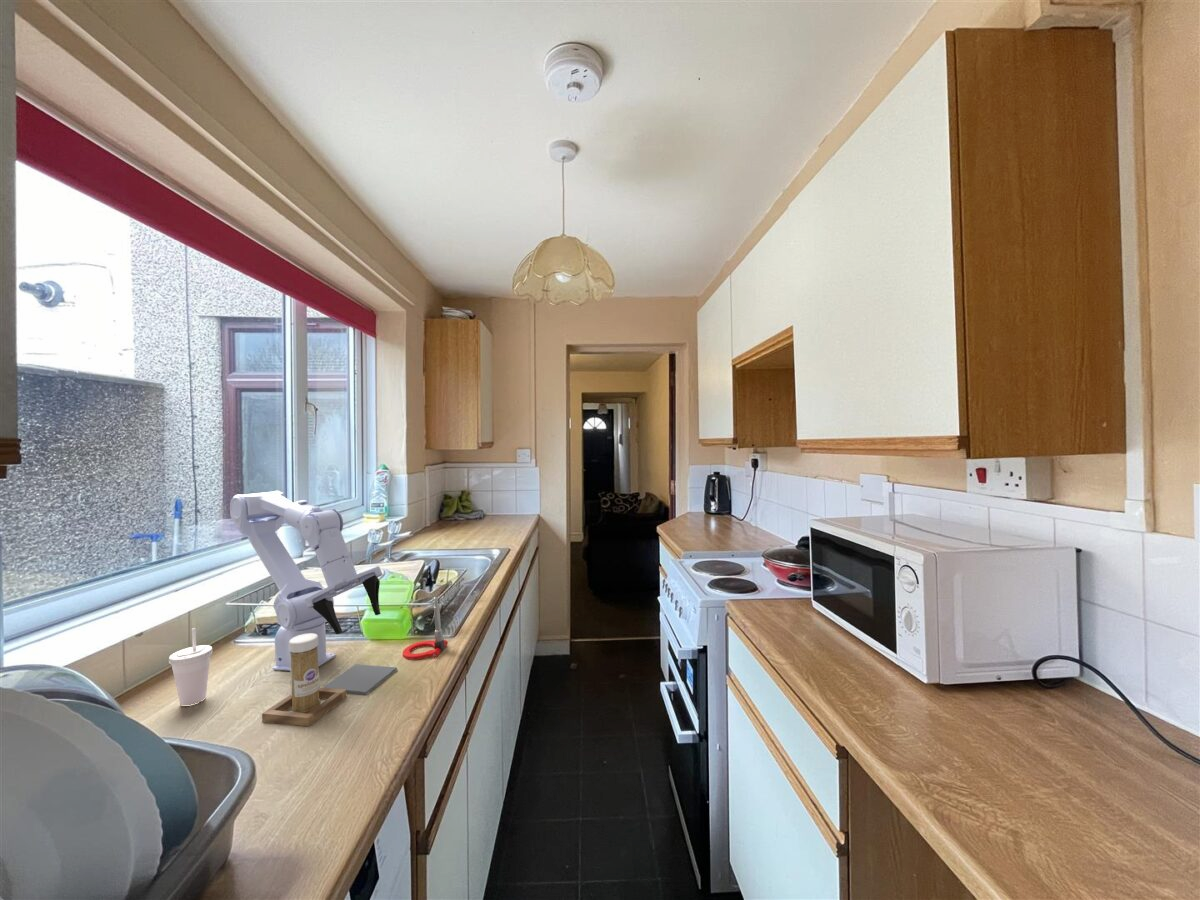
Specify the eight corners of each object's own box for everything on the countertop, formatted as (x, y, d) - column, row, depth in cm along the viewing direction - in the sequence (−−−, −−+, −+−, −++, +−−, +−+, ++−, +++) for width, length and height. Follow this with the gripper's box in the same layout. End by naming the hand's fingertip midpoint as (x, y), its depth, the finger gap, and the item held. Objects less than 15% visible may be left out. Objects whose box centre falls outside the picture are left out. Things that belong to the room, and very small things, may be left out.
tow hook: (396, 662, 107) (436, 660, 106) (391, 605, 107) (431, 603, 106) (412, 646, 115) (449, 644, 115) (408, 593, 115) (446, 591, 114)
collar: (262, 721, 84) (261, 713, 84) (304, 693, 93) (303, 685, 93) (308, 726, 82) (308, 718, 82) (346, 697, 91) (346, 689, 91)
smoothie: (221, 696, 92) (218, 626, 92) (181, 714, 87) (178, 638, 86) (203, 690, 95) (200, 621, 95) (163, 706, 89) (160, 633, 89)
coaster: (321, 691, 94) (321, 688, 94) (355, 666, 104) (355, 664, 104) (366, 694, 92) (366, 691, 92) (396, 669, 102) (396, 667, 102)
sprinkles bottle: (304, 718, 85) (301, 643, 84) (285, 714, 86) (282, 641, 86) (326, 704, 89) (323, 633, 89) (307, 700, 91) (305, 631, 90)
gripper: (291, 577, 94) (314, 642, 91) (367, 544, 99) (391, 605, 96) (304, 580, 100) (325, 641, 97) (374, 550, 105) (397, 607, 102)
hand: (358, 623), depth 97 cm, fingers open, 7 cm apart
